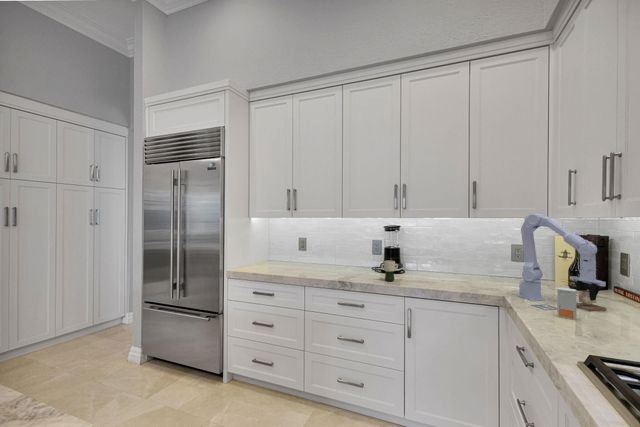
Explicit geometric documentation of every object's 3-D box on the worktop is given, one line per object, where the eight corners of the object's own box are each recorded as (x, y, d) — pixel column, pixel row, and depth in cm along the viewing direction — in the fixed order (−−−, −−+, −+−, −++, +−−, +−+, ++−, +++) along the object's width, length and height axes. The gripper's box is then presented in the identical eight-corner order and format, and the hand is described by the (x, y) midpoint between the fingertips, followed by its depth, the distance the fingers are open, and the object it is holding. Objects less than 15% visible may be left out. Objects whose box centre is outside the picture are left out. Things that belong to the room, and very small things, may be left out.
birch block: (578, 301, 155) (578, 290, 155) (587, 301, 156) (587, 290, 156) (587, 303, 151) (586, 292, 151) (596, 303, 152) (596, 292, 152)
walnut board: (570, 306, 157) (570, 303, 157) (586, 305, 159) (586, 302, 159) (589, 311, 148) (589, 308, 148) (606, 310, 150) (606, 307, 150)
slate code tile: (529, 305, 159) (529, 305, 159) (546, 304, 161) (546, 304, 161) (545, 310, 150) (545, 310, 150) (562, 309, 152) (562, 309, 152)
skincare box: (557, 317, 141) (556, 288, 141) (559, 315, 144) (559, 287, 144) (575, 320, 136) (574, 291, 136) (576, 318, 139) (576, 289, 139)
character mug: (396, 279, 225) (396, 260, 225) (399, 281, 218) (399, 261, 218) (380, 279, 224) (380, 260, 225) (382, 282, 217) (382, 261, 217)
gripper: (566, 267, 160) (566, 295, 160) (596, 272, 146) (596, 303, 146) (578, 267, 162) (578, 295, 161) (609, 271, 147) (609, 302, 147)
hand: (588, 299), depth 154 cm, fingers closed on birch block, 4 cm apart
